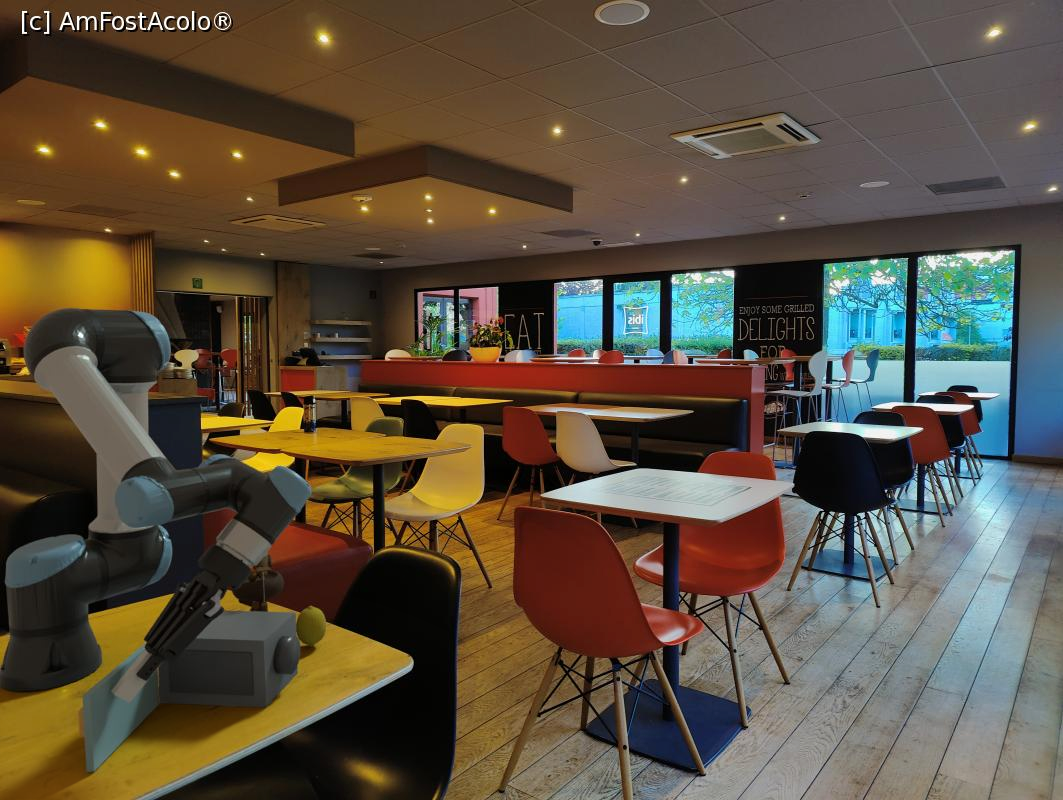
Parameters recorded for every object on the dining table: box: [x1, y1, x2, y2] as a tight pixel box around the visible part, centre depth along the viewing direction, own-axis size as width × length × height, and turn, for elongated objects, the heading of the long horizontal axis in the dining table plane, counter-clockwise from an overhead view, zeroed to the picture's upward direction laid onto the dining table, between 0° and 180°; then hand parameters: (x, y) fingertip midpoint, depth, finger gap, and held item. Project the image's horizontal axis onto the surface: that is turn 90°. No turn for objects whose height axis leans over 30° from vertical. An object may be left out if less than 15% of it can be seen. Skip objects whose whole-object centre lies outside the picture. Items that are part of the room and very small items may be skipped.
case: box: [158, 609, 301, 708], centre depth 119 cm, size 20×12×11 cm, turn 85°
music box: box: [230, 554, 285, 612], centre depth 135 cm, size 15×11×20 cm
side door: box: [77, 641, 160, 773], centre depth 105 cm, size 19×2×11 cm, turn 2°
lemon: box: [296, 605, 327, 648], centre depth 136 cm, size 6×6×8 cm
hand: (120, 696), depth 100 cm, fingers closed
